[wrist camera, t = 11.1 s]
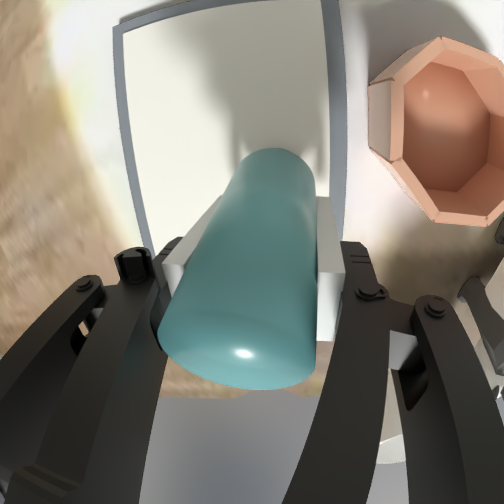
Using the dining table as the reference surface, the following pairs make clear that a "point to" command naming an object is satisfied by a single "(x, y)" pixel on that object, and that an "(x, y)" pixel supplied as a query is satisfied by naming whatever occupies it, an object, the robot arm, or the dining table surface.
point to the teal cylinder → (252, 281)
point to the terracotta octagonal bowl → (443, 130)
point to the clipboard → (227, 102)
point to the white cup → (391, 429)
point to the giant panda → (489, 321)
